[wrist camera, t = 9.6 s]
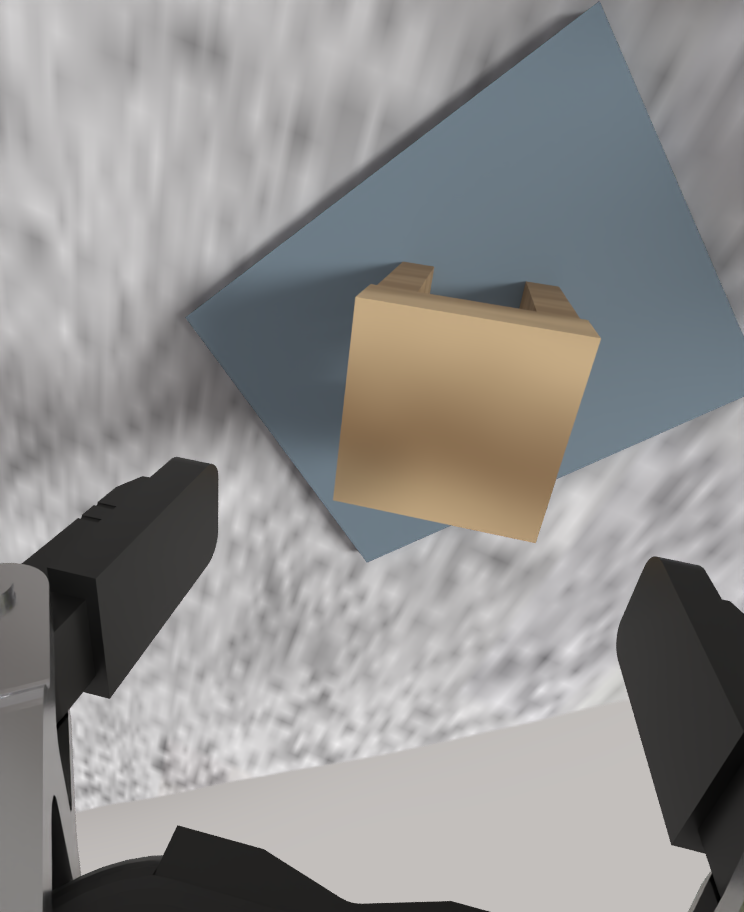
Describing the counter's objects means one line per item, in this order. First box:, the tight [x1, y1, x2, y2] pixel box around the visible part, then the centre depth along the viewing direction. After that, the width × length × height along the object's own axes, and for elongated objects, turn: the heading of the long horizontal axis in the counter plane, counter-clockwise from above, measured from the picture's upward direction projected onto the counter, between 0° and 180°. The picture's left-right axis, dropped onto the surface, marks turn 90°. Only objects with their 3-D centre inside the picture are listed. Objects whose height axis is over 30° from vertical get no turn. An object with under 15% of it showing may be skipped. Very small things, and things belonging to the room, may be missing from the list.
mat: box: [185, 1, 744, 562], centre depth 23 cm, size 18×14×1 cm
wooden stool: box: [333, 262, 601, 543], centre depth 18 cm, size 6×6×8 cm
